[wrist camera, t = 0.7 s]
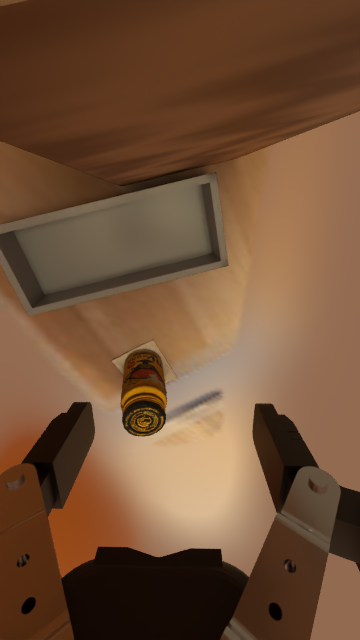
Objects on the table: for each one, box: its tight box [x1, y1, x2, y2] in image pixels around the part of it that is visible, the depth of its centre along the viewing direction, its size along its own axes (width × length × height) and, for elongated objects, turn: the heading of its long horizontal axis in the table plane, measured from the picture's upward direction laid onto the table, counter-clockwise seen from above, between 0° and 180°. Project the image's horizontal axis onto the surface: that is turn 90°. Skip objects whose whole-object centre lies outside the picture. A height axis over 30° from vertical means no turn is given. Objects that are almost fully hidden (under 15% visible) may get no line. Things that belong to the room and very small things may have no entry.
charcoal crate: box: [0, 172, 228, 316], centre depth 31 cm, size 24×10×5 cm, turn 102°
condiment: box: [112, 340, 177, 436], centre depth 37 cm, size 7×8×12 cm
